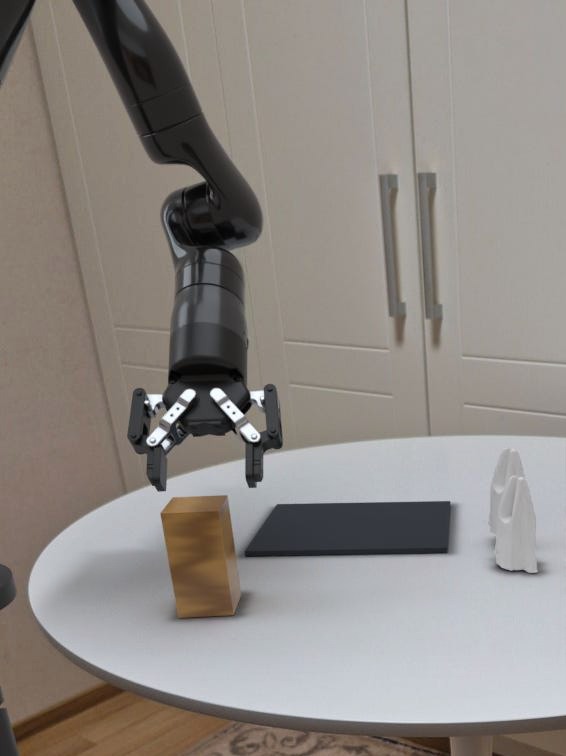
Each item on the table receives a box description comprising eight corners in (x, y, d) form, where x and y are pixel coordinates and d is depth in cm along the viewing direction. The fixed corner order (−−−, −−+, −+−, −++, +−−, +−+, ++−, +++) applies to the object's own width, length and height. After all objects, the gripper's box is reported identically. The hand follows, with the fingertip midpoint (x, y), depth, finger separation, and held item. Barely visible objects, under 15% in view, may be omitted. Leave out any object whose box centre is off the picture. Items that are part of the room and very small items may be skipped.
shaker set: (487, 537, 101) (486, 440, 96) (524, 536, 101) (524, 439, 96) (498, 575, 90) (497, 467, 85) (539, 573, 90) (540, 465, 86)
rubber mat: (244, 556, 96) (244, 551, 96) (277, 508, 113) (276, 503, 112) (447, 552, 96) (447, 547, 96) (450, 505, 113) (450, 500, 113)
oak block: (178, 618, 81) (159, 512, 77) (189, 597, 86) (172, 497, 82) (233, 615, 82) (218, 510, 77) (241, 595, 86) (227, 494, 82)
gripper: (124, 321, 85) (115, 468, 80) (274, 317, 87) (275, 461, 81) (147, 370, 92) (140, 508, 87) (285, 366, 94) (287, 501, 88)
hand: (205, 485), depth 84 cm, fingers open, 8 cm apart
